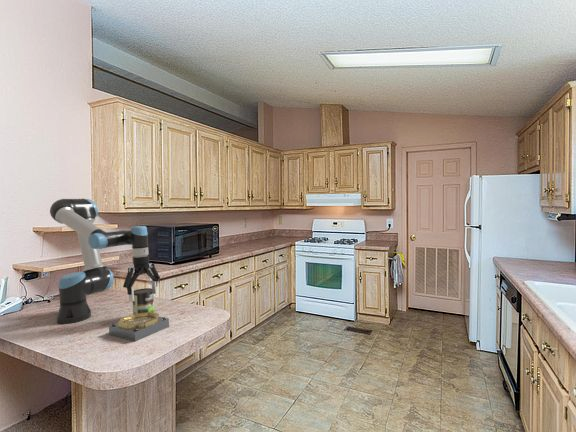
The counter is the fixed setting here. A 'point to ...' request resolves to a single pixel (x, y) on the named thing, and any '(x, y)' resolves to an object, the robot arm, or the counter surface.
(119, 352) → the counter surface
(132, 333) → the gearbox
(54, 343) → the counter surface
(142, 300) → the coffee can
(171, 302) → the counter surface
